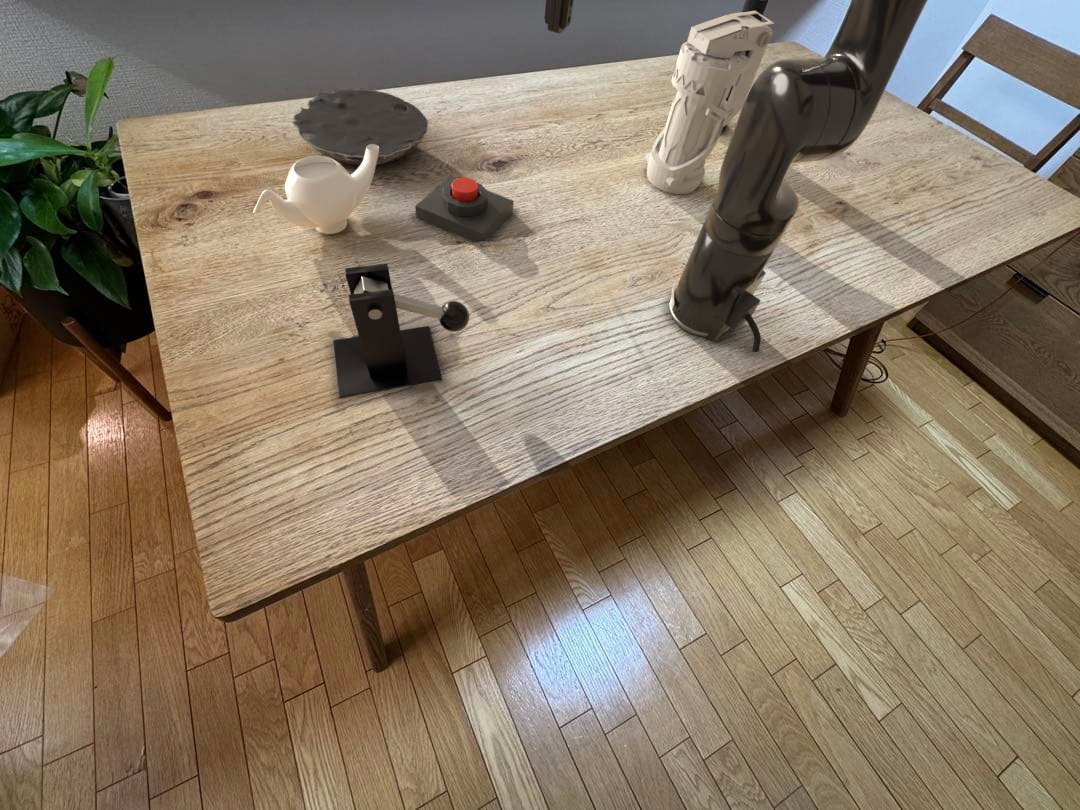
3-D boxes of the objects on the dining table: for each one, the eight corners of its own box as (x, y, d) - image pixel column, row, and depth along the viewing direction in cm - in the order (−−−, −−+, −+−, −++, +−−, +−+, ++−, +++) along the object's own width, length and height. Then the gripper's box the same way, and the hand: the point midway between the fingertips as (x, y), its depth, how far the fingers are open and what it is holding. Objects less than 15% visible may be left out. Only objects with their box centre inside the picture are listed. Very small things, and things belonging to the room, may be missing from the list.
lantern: (664, 199, 91) (718, 37, 71) (634, 167, 96) (677, 7, 76) (721, 187, 95) (789, 31, 75) (690, 157, 100) (745, 3, 80)
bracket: (429, 331, 68) (419, 247, 57) (442, 385, 64) (435, 304, 52) (334, 346, 65) (304, 259, 54) (340, 403, 61) (309, 321, 49)
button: (482, 193, 81) (482, 183, 79) (469, 206, 78) (469, 195, 77) (460, 184, 81) (460, 174, 80) (447, 197, 79) (446, 186, 78)
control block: (512, 212, 85) (514, 190, 81) (482, 245, 79) (482, 223, 76) (450, 187, 87) (449, 165, 83) (416, 218, 81) (413, 195, 78)
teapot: (252, 233, 75) (226, 174, 68) (369, 187, 85) (358, 130, 77) (286, 268, 72) (264, 210, 64) (404, 216, 81) (397, 160, 74)
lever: (456, 319, 64) (471, 299, 62) (463, 340, 62) (477, 320, 60) (350, 291, 56) (363, 266, 54) (354, 315, 54) (367, 290, 52)
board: (417, 112, 99) (414, 84, 95) (442, 177, 88) (440, 148, 84) (296, 119, 94) (287, 89, 89) (305, 190, 82) (296, 159, 78)
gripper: (659, -177, 48) (618, 36, 62) (534, -206, 51) (521, 5, 65) (632, -168, 44) (594, 57, 58) (497, -200, 47) (492, 24, 61)
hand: (556, 30), depth 62 cm, fingers closed
